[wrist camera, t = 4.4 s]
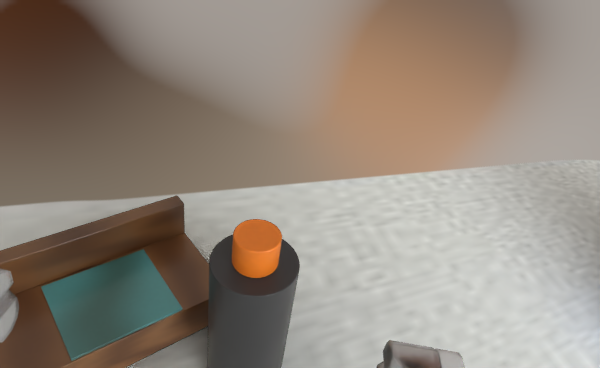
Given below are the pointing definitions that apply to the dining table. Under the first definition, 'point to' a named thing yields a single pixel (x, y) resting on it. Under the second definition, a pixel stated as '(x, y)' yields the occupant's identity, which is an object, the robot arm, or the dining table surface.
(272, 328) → the bottle
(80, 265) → the brown tray
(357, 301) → the dining table surface
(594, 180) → the dining table surface
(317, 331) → the dining table surface
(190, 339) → the dining table surface
